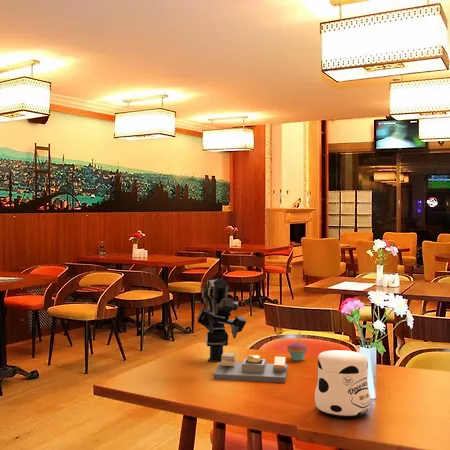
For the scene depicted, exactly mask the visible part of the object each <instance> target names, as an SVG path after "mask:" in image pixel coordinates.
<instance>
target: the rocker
mask: <svg viewBox="0 0 450 450" xmlns="http://www.w3.org/2000/svg"><path fill="white" fill-rule="evenodd" d="M273 364H274V368H279V369H285V364H286V356H275V357H274V363H273Z"/></svg>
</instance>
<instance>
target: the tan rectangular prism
mask: <svg viewBox="0 0 450 450" xmlns="http://www.w3.org/2000/svg"><path fill="white" fill-rule="evenodd" d="M220 362H221V366H234V365H235V362H236V353H231V352H230V353H229V352H228V353H227V352H223V354H222V356H221V361H220Z"/></svg>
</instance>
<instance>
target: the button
mask: <svg viewBox="0 0 450 450" xmlns="http://www.w3.org/2000/svg"><path fill="white" fill-rule="evenodd" d="M247 358H248V363H249V364H261V359H262V358H261V355H259V354H250V355H249V354H248V355H247Z"/></svg>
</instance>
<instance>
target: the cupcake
mask: <svg viewBox="0 0 450 450" xmlns="http://www.w3.org/2000/svg"><path fill="white" fill-rule="evenodd" d="M300 340H301V331H299V332H298V341H297V342H294V341H293V342H291V343H290V344H289V345H287V349H286V350H287V352H289V355H290V358H291V360H292V361H298V362H299V361H303V360H304V356H305V354H306V353H307V352H308V346H307V345H306V344H305V343H303V342H301V341H300Z"/></svg>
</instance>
